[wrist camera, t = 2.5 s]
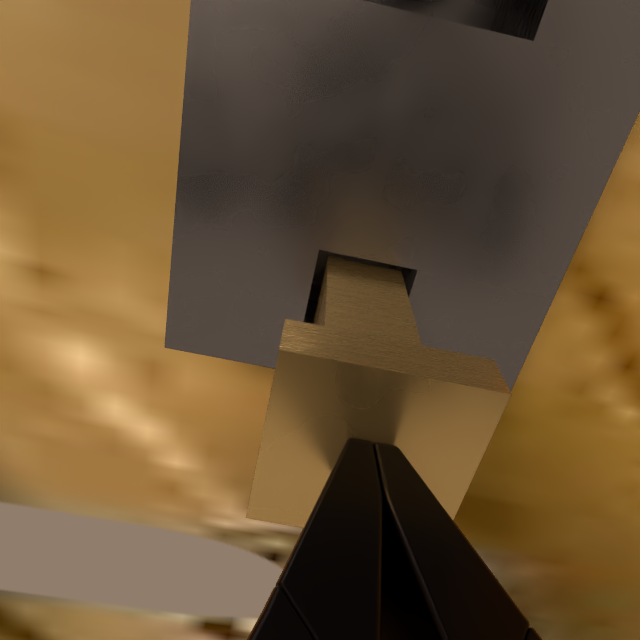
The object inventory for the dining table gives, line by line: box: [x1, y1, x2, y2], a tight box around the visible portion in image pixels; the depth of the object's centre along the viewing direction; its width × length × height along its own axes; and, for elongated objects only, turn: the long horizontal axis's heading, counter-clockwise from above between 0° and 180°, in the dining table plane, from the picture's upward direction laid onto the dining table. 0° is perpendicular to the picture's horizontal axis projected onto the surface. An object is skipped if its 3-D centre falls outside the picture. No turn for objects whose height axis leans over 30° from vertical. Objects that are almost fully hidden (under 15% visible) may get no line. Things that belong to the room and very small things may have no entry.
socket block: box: [165, 0, 640, 392], centre depth 14 cm, size 16×10×5 cm, turn 168°
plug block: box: [246, 256, 511, 528], centre depth 12 cm, size 4×4×6 cm
